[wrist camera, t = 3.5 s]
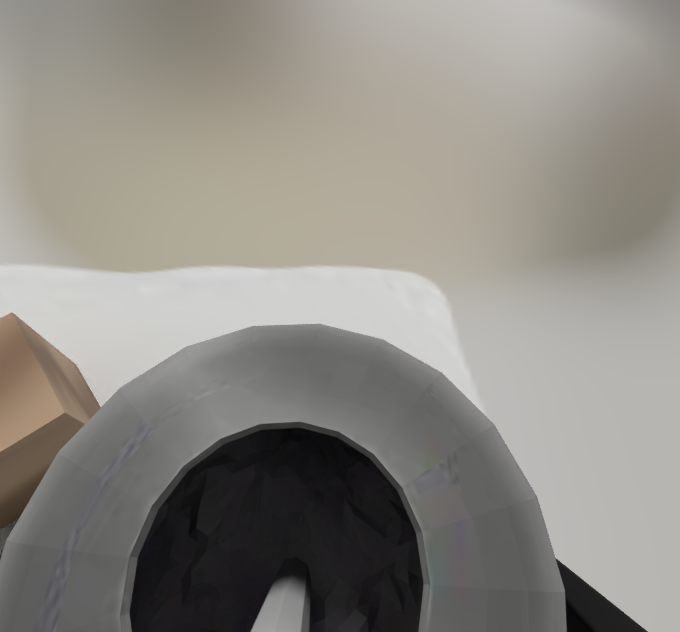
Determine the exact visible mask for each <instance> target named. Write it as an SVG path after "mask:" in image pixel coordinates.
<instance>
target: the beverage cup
mask: <svg viewBox="0 0 680 632" xmlns="http://www.w3.org/2000/svg"><path fill="white" fill-rule="evenodd" d="M0 632H567V627H566V604H565V589H564V586H563V582H562V579H561V575H560V572H559V569H558V565H557V562H556V559H555V555H554V552H553V549H552V545H551V542H550V539H549V535H548V532H547V528H546V525H545V522H544V518H543V515H542V512H541V508H540V505H539V502H538V498H537V496H536V494H535V493H534V491H533V489H532V487H531V486H530V484H529V482H528V481H527V479H526V477H525V476H524V474H523V472H522V471H521V469H520V467H519V466H518V464H517V462H516V461H515V459H514V457H513V456H512V454H511V452H510V450H509V449H508V447H507V445H506V444H505V442H504V440H503V439H502V437H501V435H500V434H499V432H498V430H497V429H496V427H495V425H494V424H493V423H492V422H491V421H490V420H489V419H488V418H487V417H486V416H485V415H484V414H483V413H482V412H481V411H480V410H479V409H478V408H477V407H476V406H475V405H474V404H473V403H472V402H471V401H470V400H469V399H468V398H467V397H466V396H465V395H464V394H463V393H462V392H461V391H460V390H459V389H458V388H457V387H456V386H455V385H454V384H453V383H452V382H451V381H450V380H449V379H447V378H446V377H445V376H444V375H443V374H442V373H441V372H440V371H438V370H436V369H434V368H432V367H431V366H429V365H427V364H425V363H424V362H422V361H420V360H418V359H417V358H415V357H413V356H411V355H409V354H408V353H406V352H404V351H402V350H401V349H399V348H397V347H395V346H393V345H392V344H390V343H388V342H386V341H385V340H383V339H379V338H375V337H371V336H367V335H363V334H358V333H354V332H350V331H346V330H342V329H338V328H334V327H330V326H326V325H322V324H301V325H272V326H252V327H249V328H245V329H242V330H239V331H236V332H233V333H229V334H226V335H223V336H220V337H216V338H213V339H210V340H207V341H204V342H200V343H197V344H194V345H191V346H187V347H185V348H184V349H182V350H180V351H179V352H177V353H176V354H174V355H172V356H171V357H169V358H168V359H166V360H164V361H163V362H161V363H159V364H158V365H156V366H155V367H153V368H151V369H150V370H148V371H147V372H145V373H143V374H142V375H140V376H139V377H137V378H135V379H134V380H132V381H131V382H129V383H127V384H126V385H124V386H122V387H121V388H120V389H119V390H118V391H117V392H116V393H115V394H114V395H113V396H112V397H111V398H110V399H109V400H108V401H107V402H106V403H105V404H104V405H103V406H102V407H101V408H100V409H99V410H98V411H97V412H96V413H95V414H94V415H93V416H92V418H91V419H90V420H89V421H88V422H87V423H86V424H85V425H84V426H83V427H82V428H81V429H80V430H79V431H78V432H77V433H76V434H75V435H74V436H73V437H72V438H71V439H70V440H69V441H68V442H67V443H66V444H65V445H64V446H63V447H62V448H61V449H60V450H59V451H58V453H57V455H56V457H55V458H54V460H53V462H52V463H51V465H50V467H49V468H48V470H47V472H46V473H45V475H44V477H43V479H42V480H41V482H40V484H39V485H38V487H37V489H36V490H35V492H34V494H33V496H32V497H31V499H30V501H29V502H28V504H27V506H26V507H25V509H24V511H23V513H22V514H21V516H20V518H19V519H18V521H17V523H16V524H15V526H14V528H13V529H12V531H11V533H10V535H9V536H8V538H7V540H6V542H5V546H4V549H3V553H2V556H1V559H0Z"/></svg>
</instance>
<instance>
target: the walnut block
mask: <svg viewBox="0 0 680 632" xmlns="http://www.w3.org/2000/svg"><path fill="white" fill-rule="evenodd" d="M100 408H101V407H100V406H99V404H98V402H97V400H96V399H95V397H94V395H93V393H92V392H91V390H90V388H89V386H88V385H87V383H86V381H85V379H84V378H83V376H82V374H81V373H80V371H79V369H78V367H77V366H76V364H75V363H73V362H72V361H71V360H70V359H68V358H67V357H66V356H65V355H64V354H62V353H61V352H60V351H59V350H57V349H56V348H55V347H54V346H53V345H51V344H50V343H49V342H48V341H46V340H45V339H44V338H43V337H42V336H40V335H39V334H38V333H37V332H35V331H34V330H33V329H32V328H30V327H29V326H28V325H27V324H26V323H24V322H23V321H22V320H21V319H19V318H18V317H17V316H16V315H15V314H13V313H10V314H8V315H6V316H4V317H2V318H0V528H2V527H4V526H5V525H7V524H8V523H10V522H11V521H13V520H14V519H16V518H17V517H19V516H20V515H21V514H22V513H23V511H24V509H25V507H26V506H27V504H28V502H29V501H30V499H31V497H32V496H33V494H34V492H35V490H36V489H37V487H38V485H39V484H40V482H41V480H42V479H43V477H44V475H45V473H46V472H47V470H48V468H49V467H50V465H51V463H52V462H53V460H54V458H55V457H56V455H57V453H58V451H59V450H60V449H61V448H62V447H63V446H64V445H65V444H66V443H67V442H68V441H69V440H70V439H71V438H72V437H73V436H74V435H75V434H76V433H77V432H78V431H79V430H80V429H81V428H82V427H83V426H84V425H85V424H86V423H87V422H88V421H89V420H90V419H91V418H92V416H93V415H94V414H95V413H96V412H97V411H98V410H99V409H100Z"/></svg>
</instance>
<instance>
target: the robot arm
mask: <svg viewBox="0 0 680 632" xmlns="http://www.w3.org/2000/svg"><path fill="white" fill-rule="evenodd" d="M1 556H2V554H1V555H0V559H1ZM555 559H556V558H555ZM556 562H557V565H558V569H559V572H560V575H561V579H562V582H563V586H564V589H565V604H566V627H567V632H647V631H646V630H645V629H644V628H642V627H641V626H640V625H639V624H637V623H636V622H635V621H633V620H632V619H631V618H630V617H629V616H627V615H626V614H625V613H624V612H622V611H621V610H620V609H619V608H617V607H616V606H615V605H614V604H612V603H611V602H610V601H609V600H607V599H606V598H605V597H604V596H602V595H601V594H600V593H599V592H597V591H596V590H595V589H594V588H592V587H591V586H590V585H589V584H587V583H586V582H585V581H584V580H582V579H581V578H580V577H579V576H577V575H576V574H575V573H574V572H572V571H571V570H570V569H569V568H567V567H566V566H565V565H563V564H562V563H561V562H560V561H559V560H557V559H556Z"/></svg>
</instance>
